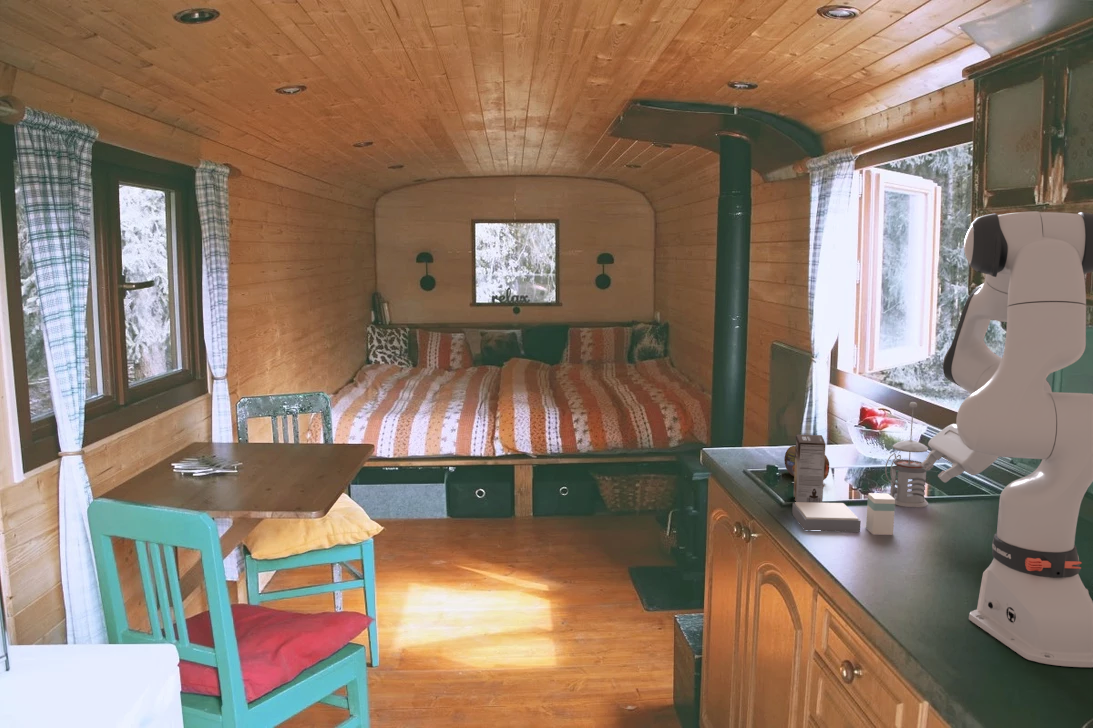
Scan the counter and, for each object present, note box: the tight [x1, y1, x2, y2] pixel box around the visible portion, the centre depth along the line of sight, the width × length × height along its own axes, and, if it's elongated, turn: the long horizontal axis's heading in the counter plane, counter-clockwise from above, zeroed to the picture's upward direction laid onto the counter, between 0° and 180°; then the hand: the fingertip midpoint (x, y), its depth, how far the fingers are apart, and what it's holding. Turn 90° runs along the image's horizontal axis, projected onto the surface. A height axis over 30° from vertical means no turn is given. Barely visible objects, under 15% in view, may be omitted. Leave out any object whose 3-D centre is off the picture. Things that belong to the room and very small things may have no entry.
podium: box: [791, 501, 862, 533], centre depth 189 cm, size 12×12×3 cm
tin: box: [784, 445, 830, 481], centre depth 226 cm, size 15×3×8 cm, turn 25°
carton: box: [865, 492, 896, 536], centre depth 183 cm, size 4×4×8 cm
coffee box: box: [793, 434, 826, 503], centre depth 204 cm, size 9×6×16 cm
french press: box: [884, 401, 929, 508], centre depth 204 cm, size 10×12×25 cm
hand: (932, 473), depth 181 cm, fingers open, 8 cm apart
